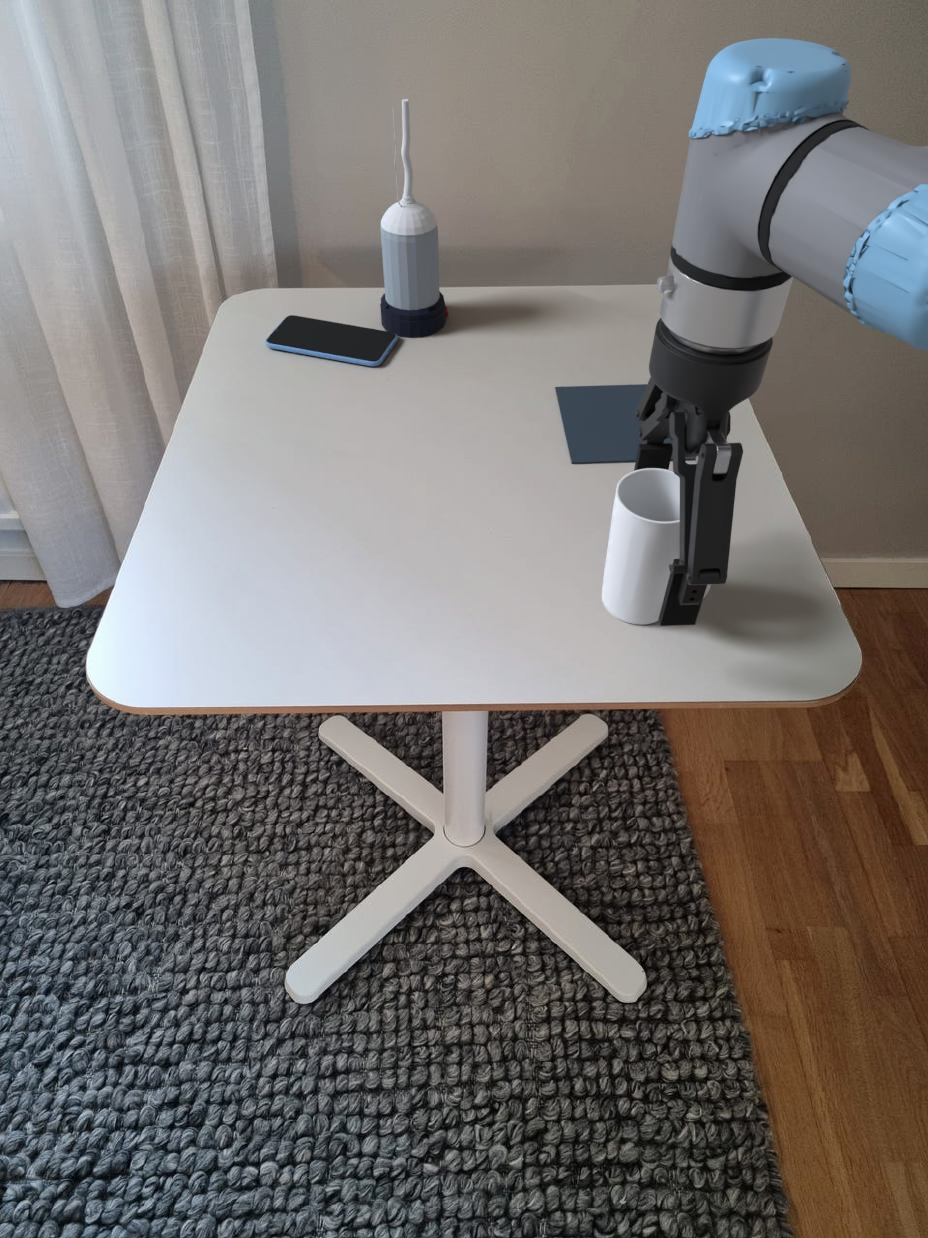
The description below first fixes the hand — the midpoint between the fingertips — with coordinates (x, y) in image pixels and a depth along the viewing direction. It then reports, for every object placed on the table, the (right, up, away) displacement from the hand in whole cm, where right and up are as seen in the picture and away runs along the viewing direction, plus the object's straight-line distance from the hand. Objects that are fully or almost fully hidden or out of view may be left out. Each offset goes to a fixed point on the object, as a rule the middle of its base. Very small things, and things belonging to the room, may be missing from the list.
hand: (658, 560), depth 72 cm
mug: (0, -4, +4) cm, 6 cm away
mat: (+2, +17, +23) cm, 29 cm away
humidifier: (-23, +33, +38) cm, 55 cm away
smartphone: (-32, +29, +34) cm, 55 cm away
